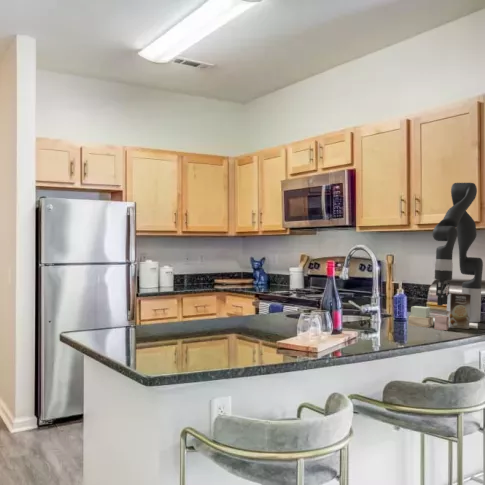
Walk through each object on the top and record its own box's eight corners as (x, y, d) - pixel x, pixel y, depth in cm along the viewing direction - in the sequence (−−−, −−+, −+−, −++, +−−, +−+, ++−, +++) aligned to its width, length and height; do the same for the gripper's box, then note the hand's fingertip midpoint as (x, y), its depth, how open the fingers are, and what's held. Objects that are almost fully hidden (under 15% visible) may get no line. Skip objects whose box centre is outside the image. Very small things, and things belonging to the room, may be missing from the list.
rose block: (437, 328, 249) (437, 315, 249) (448, 329, 246) (448, 316, 246) (434, 329, 245) (434, 316, 245) (445, 330, 242) (446, 317, 242)
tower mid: (415, 315, 262) (415, 305, 262) (429, 316, 258) (430, 307, 258) (410, 316, 256) (411, 306, 256) (425, 317, 252) (426, 308, 252)
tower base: (414, 324, 263) (414, 314, 263) (433, 326, 258) (433, 316, 258) (408, 325, 256) (408, 316, 256) (427, 328, 250) (428, 318, 250)
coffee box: (449, 327, 252) (450, 293, 252) (445, 325, 258) (446, 292, 258) (469, 329, 251) (470, 294, 251) (465, 327, 257) (466, 293, 257)
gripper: (439, 268, 254) (437, 303, 254) (431, 269, 242) (429, 305, 242) (455, 269, 250) (454, 304, 249) (448, 269, 238) (447, 306, 238)
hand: (442, 304), depth 246 cm, fingers open, 8 cm apart
